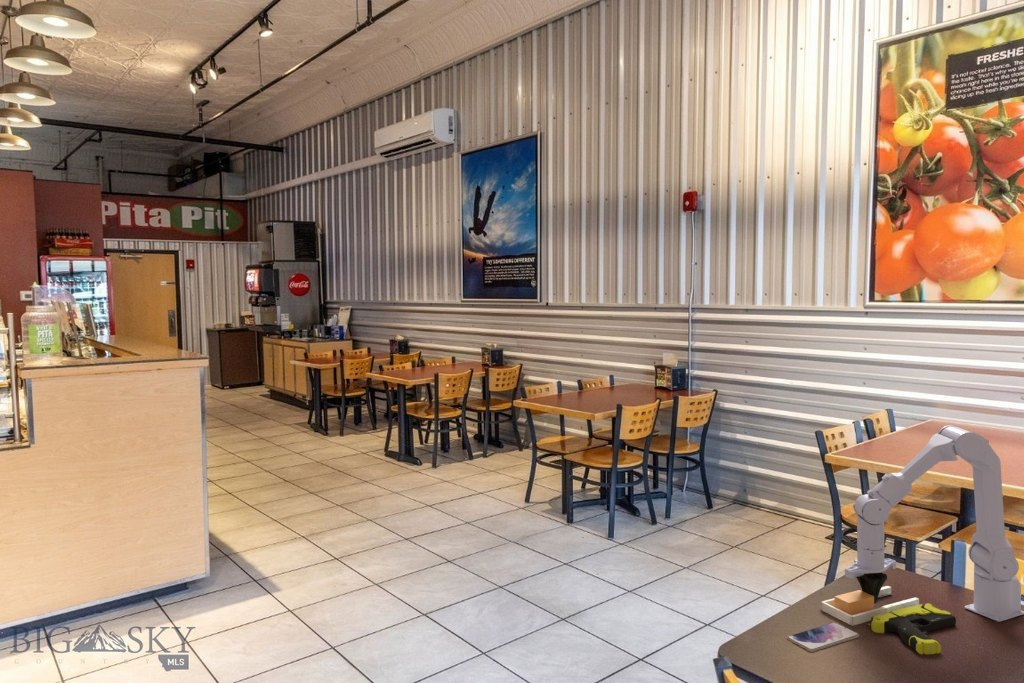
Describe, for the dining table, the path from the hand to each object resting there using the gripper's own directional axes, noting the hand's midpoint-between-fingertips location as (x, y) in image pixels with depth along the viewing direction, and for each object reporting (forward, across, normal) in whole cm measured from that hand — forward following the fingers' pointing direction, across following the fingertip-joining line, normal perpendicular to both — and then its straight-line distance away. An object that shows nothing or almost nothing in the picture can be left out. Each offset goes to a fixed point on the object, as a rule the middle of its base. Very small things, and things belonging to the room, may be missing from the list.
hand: (870, 602), depth 162 cm
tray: (+1, +6, 0) cm, 6 cm away
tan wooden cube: (+1, +7, 0) cm, 8 cm away
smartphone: (+2, +21, +6) cm, 22 cm away
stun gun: (+2, 0, +14) cm, 14 cm away
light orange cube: (+1, +3, 0) cm, 4 cm away
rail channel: (+1, -6, 0) cm, 6 cm away
